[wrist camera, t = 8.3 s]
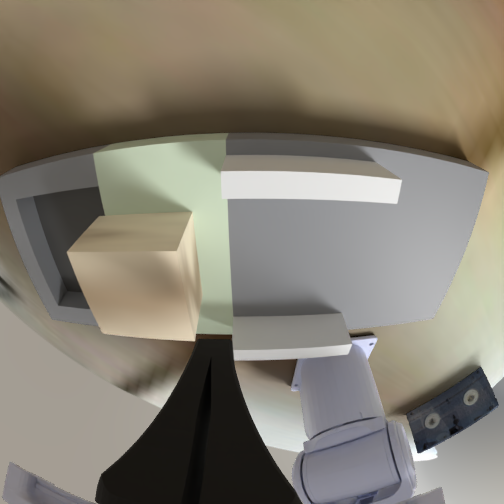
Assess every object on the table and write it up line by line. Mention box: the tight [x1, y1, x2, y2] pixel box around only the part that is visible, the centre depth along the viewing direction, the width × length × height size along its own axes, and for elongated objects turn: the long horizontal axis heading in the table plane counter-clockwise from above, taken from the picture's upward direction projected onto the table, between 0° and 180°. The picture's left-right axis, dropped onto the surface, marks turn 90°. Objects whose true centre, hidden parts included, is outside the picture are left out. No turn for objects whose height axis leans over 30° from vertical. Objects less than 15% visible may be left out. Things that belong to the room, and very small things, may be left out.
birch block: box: [67, 212, 203, 341], centre depth 15 cm, size 6×6×4 cm
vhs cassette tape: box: [407, 367, 498, 453], centre depth 34 cm, size 18×3×10 cm, turn 131°
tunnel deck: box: [0, 133, 489, 360], centre depth 16 cm, size 14×36×6 cm, turn 90°
